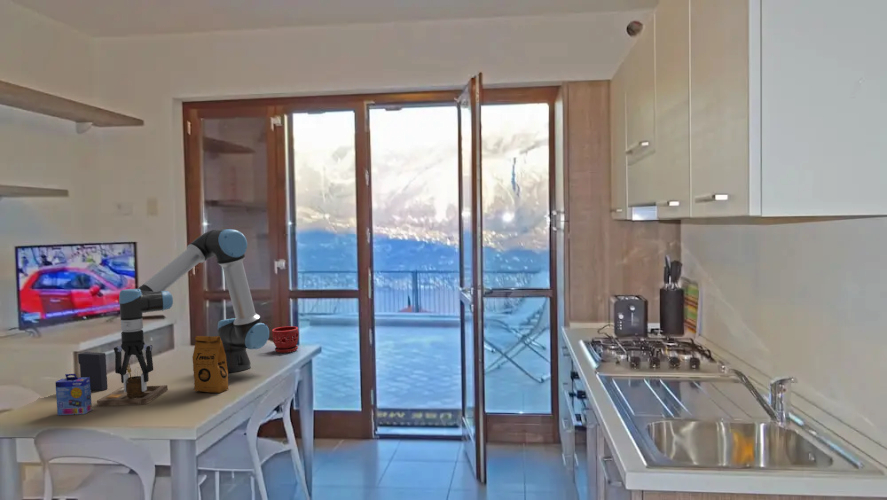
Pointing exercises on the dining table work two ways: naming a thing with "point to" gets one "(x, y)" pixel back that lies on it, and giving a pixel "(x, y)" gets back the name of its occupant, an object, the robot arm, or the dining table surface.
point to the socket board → (122, 399)
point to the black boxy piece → (94, 369)
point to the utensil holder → (134, 385)
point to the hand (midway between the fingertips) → (135, 390)
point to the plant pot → (285, 339)
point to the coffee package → (210, 365)
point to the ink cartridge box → (73, 395)
